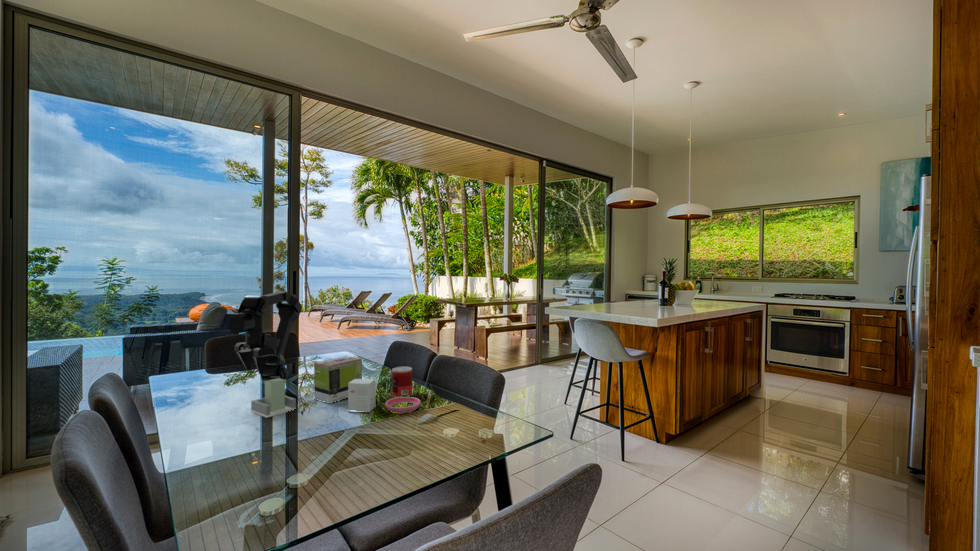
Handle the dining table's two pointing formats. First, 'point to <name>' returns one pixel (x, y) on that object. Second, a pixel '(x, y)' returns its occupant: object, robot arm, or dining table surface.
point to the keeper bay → (264, 409)
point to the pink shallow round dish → (400, 400)
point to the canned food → (401, 381)
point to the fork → (425, 417)
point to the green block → (275, 394)
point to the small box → (361, 394)
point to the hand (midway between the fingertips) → (254, 372)
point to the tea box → (335, 377)
